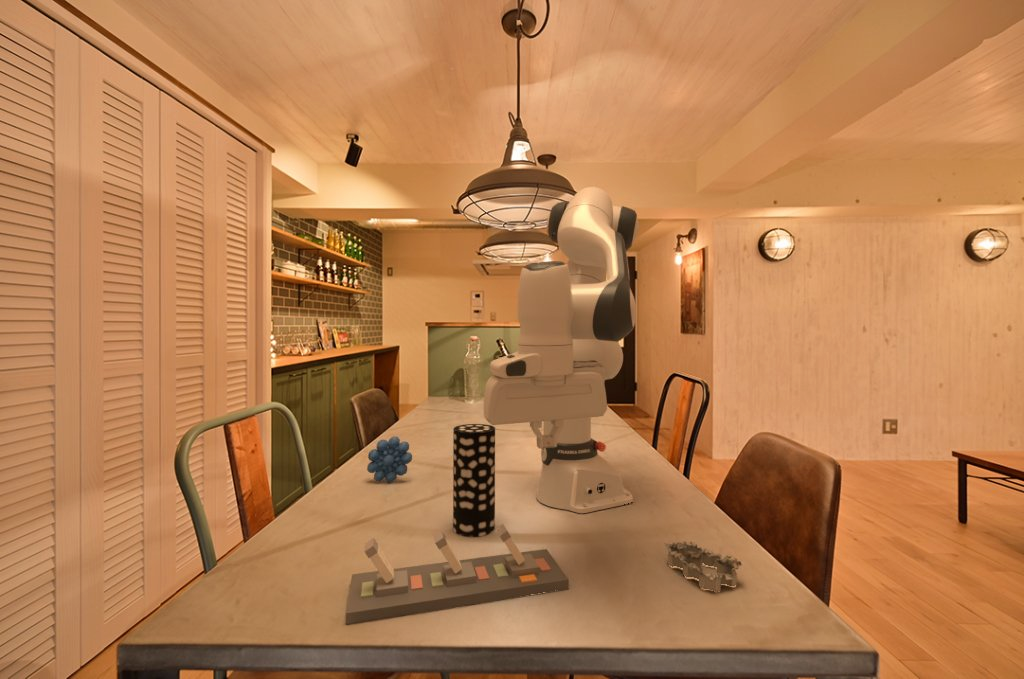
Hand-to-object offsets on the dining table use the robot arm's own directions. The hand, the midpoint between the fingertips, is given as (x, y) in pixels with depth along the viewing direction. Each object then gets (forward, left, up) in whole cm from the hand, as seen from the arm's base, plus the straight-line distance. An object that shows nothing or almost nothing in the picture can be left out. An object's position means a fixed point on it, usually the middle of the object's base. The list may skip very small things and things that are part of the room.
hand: (546, 447), depth 73 cm
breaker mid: (+14, 0, -18) cm, 23 cm away
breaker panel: (+14, 0, -21) cm, 25 cm away
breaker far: (+24, 0, -18) cm, 30 cm away
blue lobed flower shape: (+24, -53, -21) cm, 62 cm away
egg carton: (-24, +7, -21) cm, 33 cm away
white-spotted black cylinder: (+8, -20, -21) cm, 30 cm away
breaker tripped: (+4, 0, -18) cm, 19 cm away
